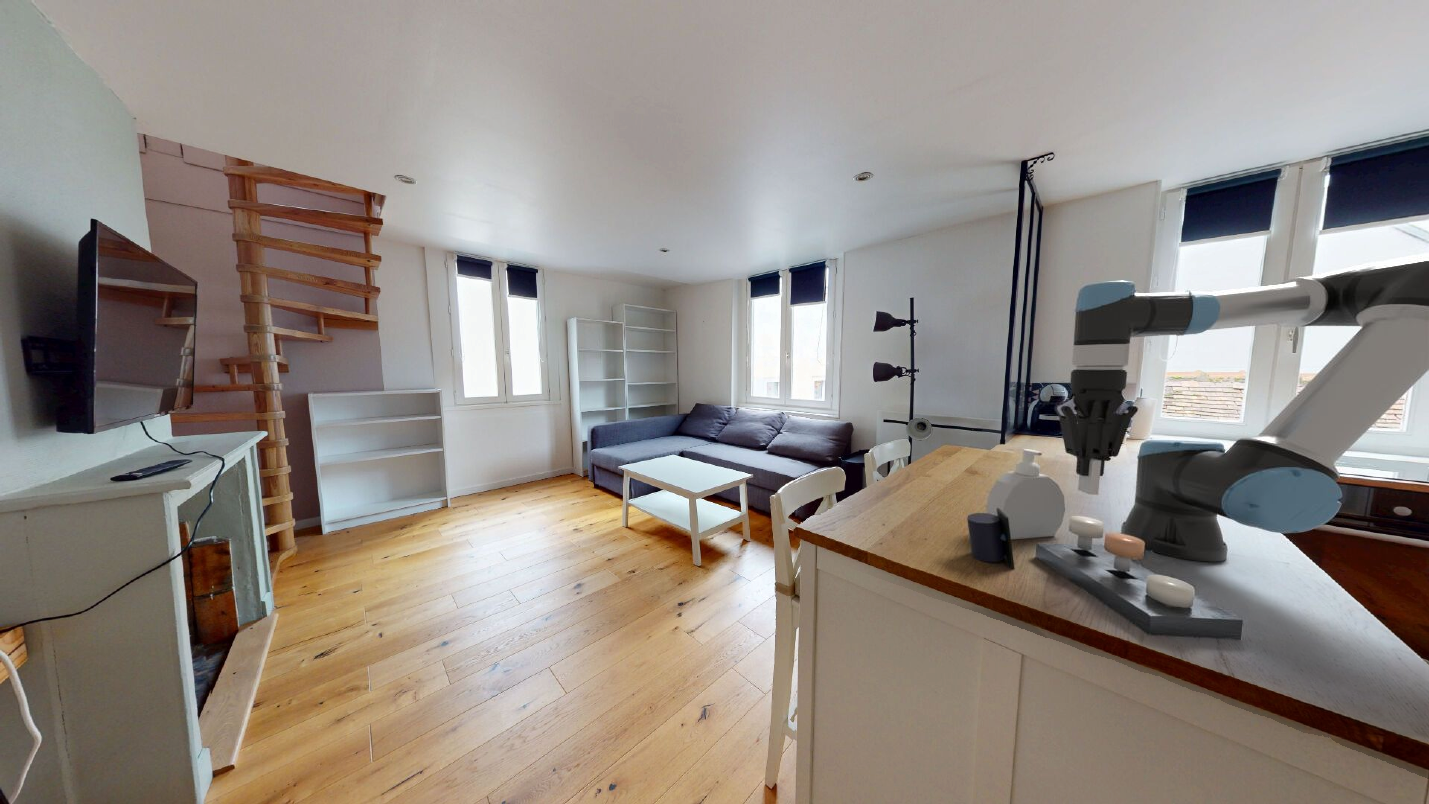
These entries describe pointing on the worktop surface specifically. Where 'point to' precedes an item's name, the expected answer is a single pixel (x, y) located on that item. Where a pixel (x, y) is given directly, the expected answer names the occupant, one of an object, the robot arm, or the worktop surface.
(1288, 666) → the worktop surface
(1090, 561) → the mount
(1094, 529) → the knob
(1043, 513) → the soap bottle
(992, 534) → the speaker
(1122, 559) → the knob middle
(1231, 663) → the worktop surface
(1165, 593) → the knob
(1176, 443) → the robot arm
